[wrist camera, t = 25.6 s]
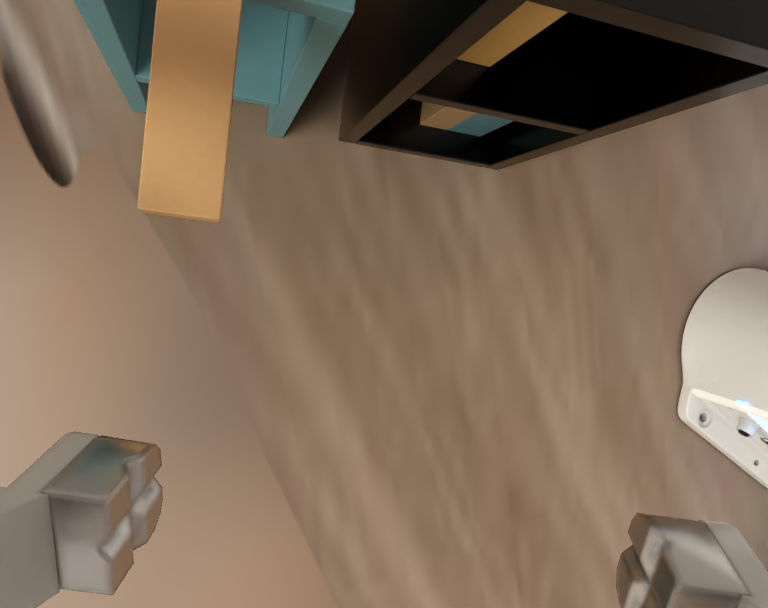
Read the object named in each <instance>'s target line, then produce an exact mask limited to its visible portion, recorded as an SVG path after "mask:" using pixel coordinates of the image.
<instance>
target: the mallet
mask: <svg viewBox="0 0 768 608" xmlns="http://www.w3.org/2000/svg"><path fill="white" fill-rule="evenodd" d="M242 2H243V0H157V4H156V14H155V25H154V35H153V46H152V57H151V67H150V78H149V89H148V99H147V110H146V121H145V131H144V142H143V153H142V163H141V174H140V185H139V195H138V206H137V207H138V209H139V210H141V211H142V212H143V213H145V214H148V215H156V216H164V217H171V218H179V219H187V220H194V221H202V222H210V223H220V220H221V212H222V202H223V192H224V182H225V172H226V162H227V152H228V142H229V132H230V122H231V112H232V102H233V92H234V82H235V72H236V62H237V52H238V42H239V32H240V22H241V12H242Z"/></svg>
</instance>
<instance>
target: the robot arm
mask: <svg viewBox="0 0 768 608" xmlns="http://www.w3.org/2000/svg"><path fill="white" fill-rule="evenodd" d="M681 358H682V370H683V385H682V389H681V393H680V398H679V403H678V415H679V417H680V419H681V420H682V421H683V422H684V423H685V424H687V425H688V426H689V427H690V428H692V429H693V430H694V431H696V432H697V433H698V434H699V435H701V436H702V437H703V438H704V439H706V440H707V441H708V442H709V443H711V444H712V445H713V446H714V447H716V448H717V449H718V450H719V451H721V452H722V453H723V454H724V455H726V456H727V457H728V458H729V459H731V460H732V461H733V462H734V463H736V464H737V465H738V466H739V467H741V468H742V469H743V470H744V471H746V472H747V473H748V474H749V475H751V476H752V477H753V478H754V479H756V480H757V481H758V482H759V483H761V484H762V485H763V486H765V487H766V488H767V489H768V271H765V270H761V269H755V268H742V269H737V270H733V271H731V272H728V273H726V274H724V275H722V276H721V277H719V278H718V279H716V280H715V281H714V282H712V283H711V284H710V285H709V286H708V287H707V288H706V289H705V290H704V291H703V293H702V294H701V295H700V297H699V298H698V299H697V301H696V303H695V304H694V306H693V308H692V310H691V312H690V314H689V317H688V319H687V322H686V325H685V329H684V333H683V339H682V349H681ZM700 415H701V417H700ZM161 465H162V464H161V451H160V448H159V447H158V446H157V445H156V444H150V443H143V442H137V441H132V440H125V439H119V438H113V437H107V436H99V435H94V434H87V433H80V432H71V433H67V434H65V435H64V436H63V437H62V438H61V439H60V440H58V441H57V442H56V443H55V444H54V445H53V446H52V447H51V448H50V449H49V450H47V452H45V453H44V454H43V455H42V456H41V457H40V458H39V459H38V460H37V461H35V462H34V463H33V464H32V465H31V466H30V467H29V468H28V469H27V470H26V471H25V472H24V473H22V474H21V475H20V476H19V477H18V478H17V479H16V480H15V481H14V482H13V483H11V484H10V485H9V486H8V487H7V488H2V487H0V608H36V607H38V606H39V605H41V604H42V603H44V602H45V601H47V600H48V599H50V598H51V597H53V596H54V595H56V594H57V593H59V589H64V590H72V591H81V592H89V593H97V594H105V595H113V594H114V593H115V591H116V590H117V588H118V587H119V585H120V584H121V582H122V580H123V579H124V577H125V576H126V574H127V573H128V571H129V570H130V568H131V567H132V565H133V564H134V561H133V550H135V549H137V548H139V547H140V546H142V545H144V544H146V543H147V542H148V540H149V538H150V537H151V535H152V533H153V532H154V530H155V527H156V524H157V522H158V519H159V516H160V513H161V507H162V500H163V497H162V486H161V485H160V484H159V482H158V481H157V480H156V478H155V477H154V476H155V474H156V473H157V471H158V470H159V469H160V467H161ZM628 533H629V536H630V538H631V541H632V543H633V545H632V546H630V547H629V548H628V549H626V550H625V551H624V552H622V553H621V556H620V560H619V564H618V567H617V584H616V587H617V593H618V599H619V603H620V606H621V608H768V571H767V570H766V568H765V567H764V565H763V564H762V562H761V561H760V560H759V558H758V557H757V555H756V554H755V552H754V551H753V549H752V548H751V547H750V545H749V544H748V542H747V541H746V539H745V538H744V537H743V535H742V534H741V532H740V531H739V529H738V528H736V527H735V526H733V525H732V524H730V523H722V522H713V521H704V520H698V521H695V520H688V519H680V518H673V517H665V516H658V515H651V514H643V513H637V514H636V515H635V516H634V518H633V519H632V521H631V524H630V527H629V530H628Z"/></svg>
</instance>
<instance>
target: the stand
mask: <svg viewBox="0 0 768 608" xmlns="http://www.w3.org/2000/svg"><path fill="white" fill-rule="evenodd" d="M74 2H75V4H76V6H77V8H78V10H79V11H80V13H81V15H82V17H83V19H84V21H85V23H86V25H87V27H88V28H89V30H90V32H91V34H92V36H93V38H94V40H95V42H96V43H97V45H98V47H99V49H100V51H101V53H102V55H103V57H104V58H105V60H106V62H107V64H108V66H109V68H110V70H111V72H112V73H113V75H114V77H115V79H116V81H117V83H118V85H119V87H120V89H121V90H122V92H123V94H124V96H125V98H126V100H127V102H128V104H129V105H130V107H131V109H132V111H136V112H142V113H146V110H147V99H148V89H149V78H150V67H151V57H152V46H153V35H154V25H155V14H156V4H157V0H74ZM355 4H356V0H243V2H242V12H241V22H240V32H239V42H238V52H237V62H236V72H235V82H234V92H233V100H237V101H242V102H247V103H252V104H257V105H263V106H268V107H269V112H268V122H267V131H266V135H270V136H276V137H281V138H283V136H284V135H285V133H286V131H287V129H288V128H289V126H290V124H291V123H292V121H293V119H294V117H295V116H296V114H297V112H298V110H299V109H300V107H301V105H302V103H303V102H304V100H305V98H306V96H307V95H308V93H309V91H310V89H311V88H312V86H313V84H314V82H315V81H316V79H317V77H318V75H319V74H320V72H321V70H322V68H323V67H324V65H325V63H326V61H327V60H328V58H329V56H330V54H331V53H332V51H333V49H334V47H335V46H336V44H337V42H338V40H339V39H340V37H341V35H342V34H343V32H344V30H345V28H346V27H347V24H348V23H349V21H350V19H351V17H352V16H353V14H354V12H355Z"/></svg>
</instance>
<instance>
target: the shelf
mask: <svg viewBox="0 0 768 608" xmlns="http://www.w3.org/2000/svg"><path fill="white" fill-rule="evenodd" d="M765 84H768V0H356V4H355V12H354V14H353V18H352V27H351V36H350V45H349V54H348V63H347V72H346V81H345V90H344V99H343V108H342V117H341V126H340V135H339V141H343V142H349V143H355V144H360V145H365V146H371V147H376V148H382V149H387V150H393V151H398V152H404V153H409V154H415V155H420V156H426V157H431V158H437V159H442V160H448V161H453V162H459V163H464V164H469V165H475V166H480V167H486V168H491V169H497V170H498V169H502V168H505V167H508V166H511V165H514V164H517V163H520V162H524V161H527V160H530V159H533V158H536V157H539V156H542V155H545V154H549V153H552V152H555V151H558V150H561V149H564V148H567V147H571V146H574V145H577V144H580V143H583V142H586V141H589V140H592V139H596V138H599V137H602V136H605V135H608V134H611V133H614V132H618V131H621V130H624V129H627V128H630V127H633V126H636V125H639V124H643V123H646V122H649V121H652V120H655V119H658V118H661V117H665V116H668V115H671V114H674V113H677V112H680V111H683V110H686V109H690V108H693V107H696V106H699V105H702V104H705V103H708V102H711V101H715V100H718V99H721V98H724V97H727V96H730V95H733V94H737V93H740V92H743V91H746V90H749V89H752V88H755V87H758V86H762V85H765Z"/></svg>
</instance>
